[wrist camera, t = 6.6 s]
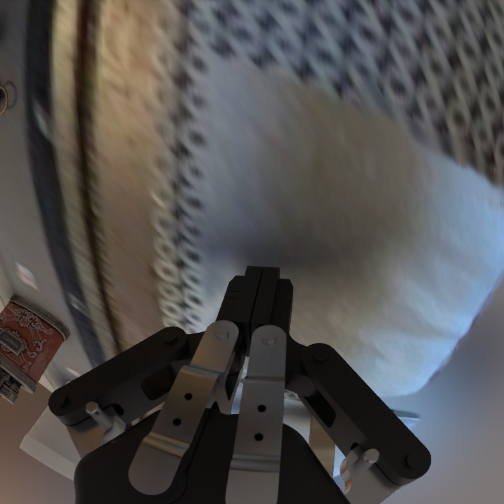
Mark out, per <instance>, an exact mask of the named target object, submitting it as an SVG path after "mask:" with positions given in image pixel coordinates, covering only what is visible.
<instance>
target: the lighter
mask: <svg viewBox="0 0 504 504" xmlns="http://www.w3.org/2000/svg"><path fill="white" fill-rule="evenodd" d="M69 335H70V334H69V330H68V329H67V327H66V326H65V325H64V324H63V323H62V322H61V321H59V320H58V319H56V318H55V317H53V316H52V315H51V314H49V313H48V312H46V311H45V310H43V309H41V308H40V307H38V306H37V305H35V304H33V303H31V302H30V301H28V300H26V299H24V298H22V297H20V296H18V295H15V294H14V295H13V296H12V297H11V298H10V299H9V303H8V305H7V306H6V307H5V308H4V310H3V311H2V312H1V313H0V397H1V396H2V397H4V398H5V399H7V400H8V401H9V402H10V403H12V404H14V402H15V401H16V399H17V397H18V396H17V395H18V393H19V389H20V387H21V388H23V389H24V390H26V391H28V392H29V393H31V394H33V393H34V392H35V390H36V388H37V386H36V384H37V383H38V381H39V379H40V378H41V376H42V374H43V373H44V371H45V369H46V368H47V366H48V364H49V363H50V361H51V360H52V358H53V356H54V355H55V353H56V352H57V350H58V349H59V347H60V345H61V344H62V343H64V342H65V341H66V340H67V338H68V336H69Z"/></svg>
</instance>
